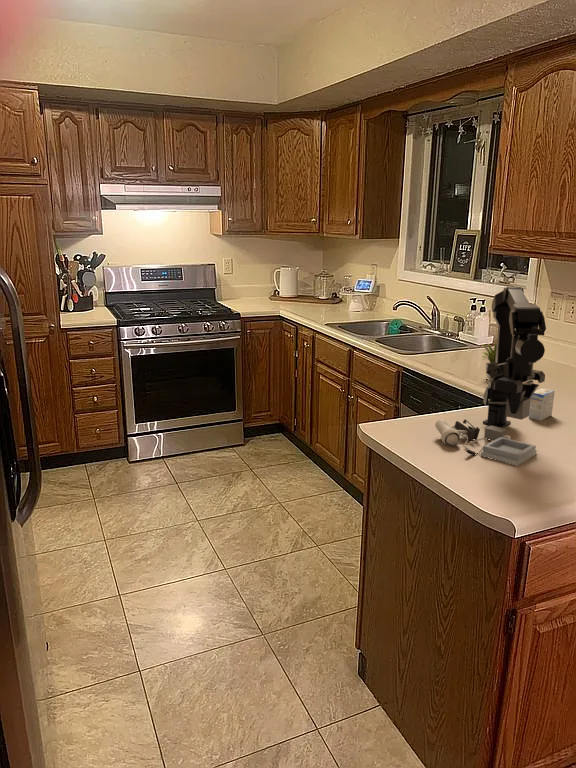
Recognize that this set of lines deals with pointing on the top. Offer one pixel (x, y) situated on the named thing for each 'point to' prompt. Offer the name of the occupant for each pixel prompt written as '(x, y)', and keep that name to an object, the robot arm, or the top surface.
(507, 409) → the brick
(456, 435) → the clip-on lamp
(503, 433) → the cable plug
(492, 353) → the house plant
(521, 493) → the top surface
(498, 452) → the blue gray tray
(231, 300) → the top surface
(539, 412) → the medicine box
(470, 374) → the top surface
